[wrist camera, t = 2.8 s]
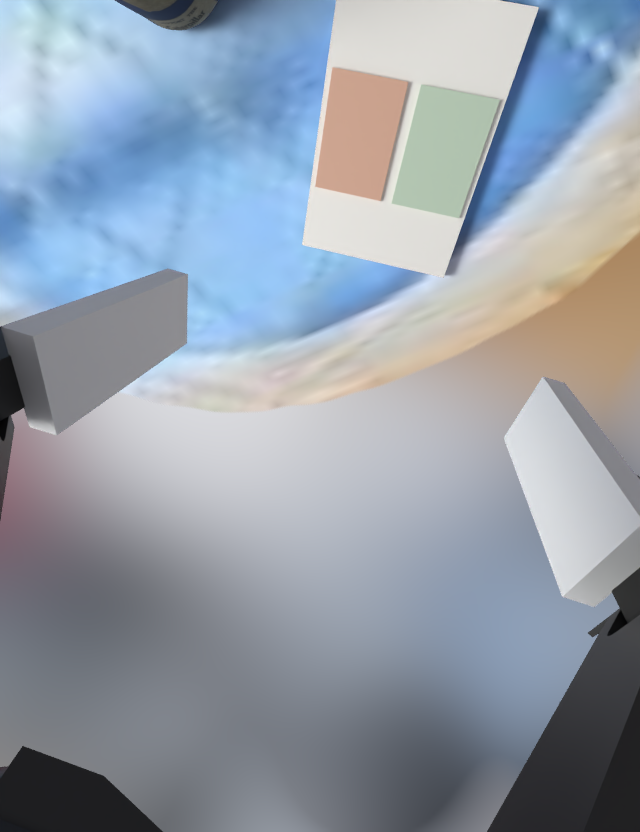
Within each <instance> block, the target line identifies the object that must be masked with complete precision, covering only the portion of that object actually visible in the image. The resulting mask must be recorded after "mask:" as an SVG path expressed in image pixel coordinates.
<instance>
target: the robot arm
mask: <svg viewBox="0 0 640 832" xmlns="http://www.w3.org/2000/svg"><path fill="white" fill-rule="evenodd" d="M187 290H188V274H185V273H181V272H178V271H174V270H171V269H166V270H163V271H160V272H157V273H154V274H151V275H148V276H145V277H143V278H140V279H137V280H134V281H131V282H128V283H125V284H122V285H119V286H116V287H114V288H111V289H108V290H105V291H102V292H99V293H96V294H93V295H90V296H88V297H85V298H82V299H79V300H76V301H73V302H70V303H67V304H64V305H61V306H59V307H56V308H53V309H50V310H47V311H44V312H41V313H38V314H35V315H33V316H30V317H27V318H24V319H21V320H18V321H15V322H12V323H9V324H6V325H4V326H1V327H0V519H1V512H2V506H3V499H4V492H5V486H6V479H7V473H8V466H9V459H10V453H11V446H12V440H13V432H14V424H13V421H12V418H11V415H12V414H14V413H15V412H17V411H19V410H21V409H22V408H24V409H25V413H26V416H27V420H28V423H29V427H32V428H35V429H38V430H42V431H44V432H48V433H51V434H54V435H58V434H59V433H61V432H62V431H63V430H65V429H67V428H68V427H69V426H71V425H72V424H74V423H75V422H76V421H78V420H79V419H81V418H82V417H83V416H85V415H86V414H88V413H89V412H91V411H92V410H93V409H95V408H96V407H97V406H99V405H100V404H102V403H103V402H105V401H106V400H107V399H109V398H110V397H112V396H113V395H115V394H116V393H117V392H119V391H120V390H122V389H123V388H124V387H126V386H127V385H129V384H130V383H131V382H133V381H134V380H136V379H137V378H139V377H140V376H141V375H143V374H144V373H146V372H147V371H148V370H150V369H151V368H153V367H154V366H155V365H157V364H158V363H160V362H161V361H163V360H164V359H165V358H167V357H168V356H170V355H171V354H172V353H174V352H175V351H177V350H178V349H179V348H181V347H182V346H184V345H185V344H187ZM504 440H505V443H506V445H507V448H508V451H509V453H510V456H511V459H512V461H513V464H514V467H515V469H516V472H517V475H518V478H519V480H520V483H521V486H522V489H523V491H524V494H525V497H526V499H527V502H528V505H529V507H530V510H531V513H532V516H533V518H534V521H535V524H536V526H537V529H538V532H539V535H540V537H541V540H542V543H543V546H544V548H545V551H546V554H547V556H548V559H549V562H550V565H551V567H552V570H553V573H554V575H555V578H556V581H557V584H558V586H559V589H560V592H561V594H562V597H565V598H568V599H571V600H574V601H577V602H580V603H584V604H587V605H590V606H593V607H595V606H596V605H597V604H599V603H600V602H601V601H602V600H604V599H605V598H606V597H607V596H608V595H610V594H611V593H613V595H614V597H615V599H616V601H617V603H618V605H619V607H620V609H618V610H617V611H616V612H614V613H613V614H612V615H611V616H609V617H608V618H607V619H605V620H604V621H603V622H602V623H600V624H599V625H597V626H596V627H595V628H594V629H592V630H591V631H590V632H588V634H590V635H591V636H592V637H594V636H595V635H597V634H599V635H598V636H597V638H596V640H595V642H594V644H593V645H592V647H591V649H590V651H589V652H588V654H587V656H586V658H585V659H584V661H583V663H582V665H581V666H580V668H579V670H578V672H577V674H576V675H575V677H574V679H573V681H572V682H571V684H570V686H569V688H568V689H567V692H566V693H565V695H564V697H563V698H562V700H561V702H560V704H559V706H558V707H557V709H556V711H555V712H554V714H553V716H552V718H551V719H550V721H549V723H548V725H547V727H546V728H545V730H544V732H543V734H542V735H541V738H540V739H539V741H538V743H537V744H536V746H535V748H534V750H533V751H532V753H531V755H530V757H529V758H528V760H527V762H526V764H525V765H524V767H523V769H522V771H521V773H520V774H519V776H518V778H517V780H516V781H515V783H514V785H513V787H512V788H511V790H510V792H509V794H508V795H507V797H506V799H505V801H504V803H503V805H502V806H501V808H500V810H499V811H498V813H497V815H496V817H495V818H494V820H493V822H492V824H491V826H490V827H489V829H488V831H487V832H640V477H639V476H638V475H637V474H635V473H634V471H633V470H632V468H631V467H630V466H629V465H628V463H627V462H626V461H625V460H624V458H623V457H622V456H621V454H620V453H619V452H618V451H617V449H616V448H615V447H614V445H613V444H612V443H611V442H610V440H609V439H608V438H607V436H606V435H605V434H604V433H603V431H602V430H601V429H600V427H599V426H598V425H597V424H596V423H595V421H594V420H593V418H592V417H591V416H590V415H589V413H588V412H587V411H586V410H585V408H584V407H583V406H582V404H581V403H580V402H579V401H578V399H577V398H576V397H575V395H574V394H573V393H572V392H571V390H570V389H569V388H568V386H567V385H566V384H565V383H563V382H559V381H556V380H553V379H549V378H546V377H542V379H541V380H540V382H539V384H538V385H537V387H536V389H535V390H534V391H533V393H532V395H531V396H530V398H529V399H528V401H527V403H526V404H525V406H524V407H523V409H522V410H521V412H520V413H519V415H518V417H517V418H516V420H515V421H514V423H513V424H512V426H511V427H510V429H509V431H508V432H507V434H506V435H505V437H504ZM0 832H162V831H161V830H160V829H159V828H158V827H157V826H156V825H155V824H154V823H153V822H152V821H151V820H150V819H149V818H148V817H147V816H146V815H145V814H143V813H142V812H141V811H140V810H139V809H138V808H137V807H136V806H135V805H134V804H133V803H132V802H131V801H130V800H129V799H128V798H126V797H125V796H124V795H123V794H122V793H121V792H120V791H119V790H118V789H117V788H116V787H115V786H114V785H113V784H112V783H110V781H108V780H107V779H106V778H105V777H104V776H102V775H100V774H97V773H94V772H91V771H89V770H86V769H83V768H81V767H78V766H75V765H73V764H70V763H67V762H64V761H62V760H59V759H56V758H54V757H51V756H48V755H46V754H43V753H40V752H37V751H35V750H32V749H29V748H26V747H24V746H22V748H21V750H20V751H19V752H18V754H17V755H16V757H15V758H14V759H13V761H12V762H11V764H10V765H9V767H0Z"/></svg>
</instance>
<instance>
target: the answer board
mask: <svg viewBox="0 0 640 832" xmlns="http://www.w3.org/2000/svg"><path fill="white" fill-rule="evenodd" d="M538 9H539V7H535V6H529V5H523V4H517V3H512V2H506V1H500V0H336V5H335V13H334V20H333V27H332V34H331V41H330V49H329V56H328V63H327V70H326V77H325V85H324V92H323V99H322V106H321V113H320V121H319V128H318V135H317V142H316V149H315V157H314V164H313V171H312V178H311V186H310V193H309V200H308V207H307V214H306V222H305V229H304V236H303V243H302V245H305V246H309V247H314V248H318V249H322V250H327V251H331V252H335V253H340V254H344V255H348V256H352V257H357V258H361V259H365V260H370V261H374V262H378V263H383V264H387V265H391V266H395V267H400V268H404V269H408V270H413V271H417V272H421V273H426V274H430V275H434V276H438V277H443V278H444V275H445V272H446V269H447V267H448V264H449V261H450V258H451V255H452V252H453V250H454V247H455V244H456V241H457V238H458V235H459V233H460V230H461V227H462V224H463V221H464V218H465V216H466V213H467V210H468V207H469V204H470V201H471V199H472V196H473V193H474V190H475V187H476V184H477V182H478V179H479V176H480V173H481V170H482V168H483V165H484V162H485V159H486V156H487V153H488V151H489V148H490V145H491V142H492V139H493V136H494V134H495V131H496V128H497V125H498V122H499V119H500V117H501V114H502V111H503V108H504V105H505V102H506V100H507V97H508V94H509V91H510V88H511V85H512V83H513V80H514V77H515V74H516V71H517V68H518V66H519V63H520V60H521V57H522V54H523V51H524V49H525V46H526V43H527V40H528V37H529V34H530V32H531V29H532V26H533V23H534V20H535V17H536V15H537V12H538Z"/></svg>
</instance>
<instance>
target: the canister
mask: <svg viewBox="0 0 640 832" xmlns="http://www.w3.org/2000/svg"><path fill="white" fill-rule="evenodd" d="M115 1H117V2H118V3H120V4H122V5H124V6H125V7H127V8H129V9H131V10H133V11H134V12H136V13H138V14H140V15H142V16H144V17H145V18H147V19H148V20H150V21H151V22H153V23H154V24H156V25H158V26H160V27H163V28H166V29H170V30H186V29H190V28H192V27H195V26H197V25H198V24H200V23H202V22H203V21H204V20H205V19H206V18H207V17H208V16H209V14H210V13H211V12H212V10H213V9H214V7H215V5H216V4H217V2H218V0H115Z"/></svg>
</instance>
